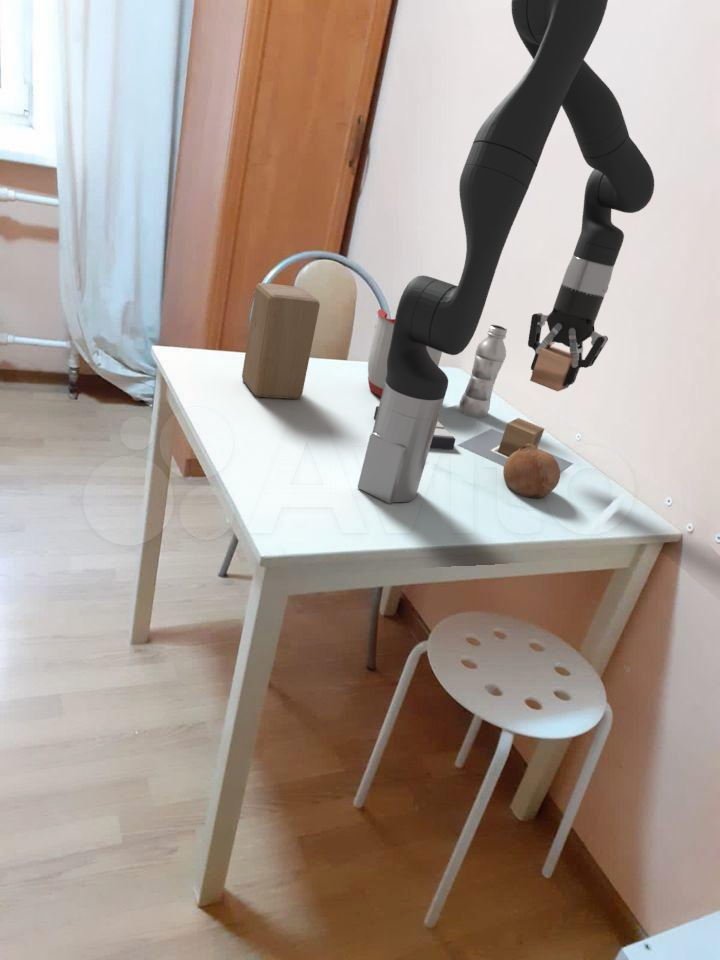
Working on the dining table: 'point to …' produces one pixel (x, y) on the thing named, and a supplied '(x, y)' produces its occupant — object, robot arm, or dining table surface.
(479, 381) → the plastic bottle
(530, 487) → the onion
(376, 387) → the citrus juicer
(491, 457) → the grey flat plate
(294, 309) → the wooden block
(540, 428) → the walnut block
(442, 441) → the calculator
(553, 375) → the terracotta block
